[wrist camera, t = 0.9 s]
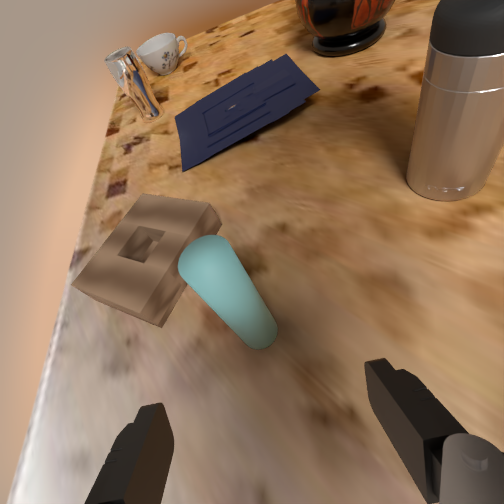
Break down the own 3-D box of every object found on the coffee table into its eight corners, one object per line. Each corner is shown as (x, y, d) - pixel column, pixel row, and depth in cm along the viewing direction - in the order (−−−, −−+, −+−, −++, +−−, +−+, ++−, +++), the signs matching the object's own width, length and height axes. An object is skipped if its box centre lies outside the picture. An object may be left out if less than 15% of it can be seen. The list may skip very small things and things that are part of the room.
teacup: (151, 86, 89) (136, 58, 83) (149, 72, 97) (135, 45, 91) (196, 65, 88) (184, 35, 82) (190, 52, 96) (179, 24, 90)
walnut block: (158, 213, 53) (142, 193, 49) (221, 224, 47) (209, 202, 43) (95, 300, 45) (70, 285, 41) (161, 328, 39) (139, 313, 35)
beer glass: (159, 122, 74) (122, 58, 62) (137, 125, 76) (97, 64, 65) (169, 106, 77) (136, 43, 66) (148, 110, 80) (112, 50, 68)
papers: (327, 107, 54) (323, 89, 52) (190, 182, 60) (180, 169, 57) (287, 62, 70) (282, 46, 67) (180, 125, 75) (172, 113, 72)
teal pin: (250, 309, 37) (195, 230, 24) (283, 319, 35) (240, 240, 22) (236, 342, 35) (167, 275, 22) (269, 355, 33) (214, 289, 20)
